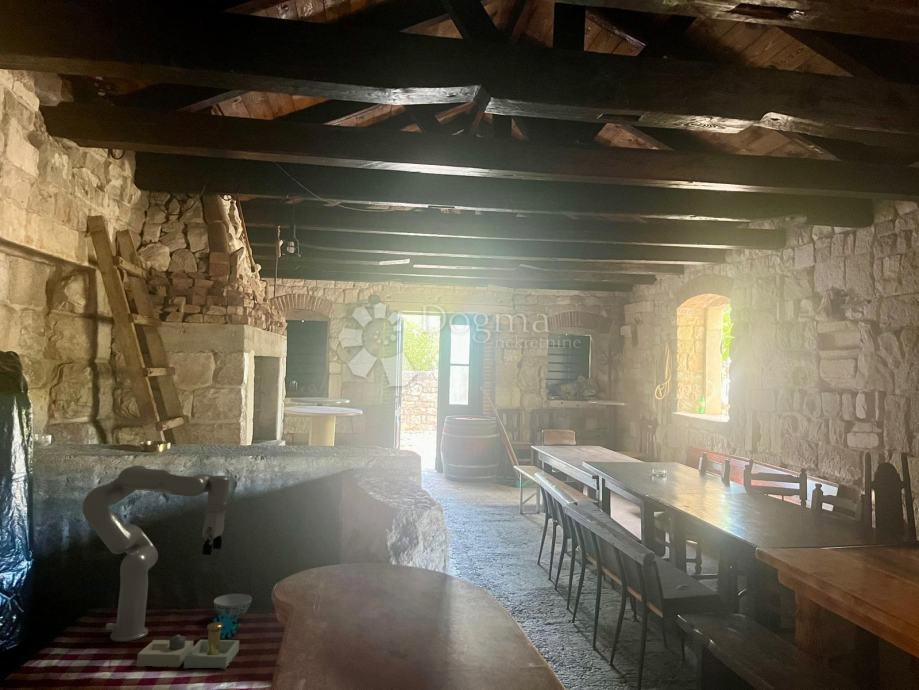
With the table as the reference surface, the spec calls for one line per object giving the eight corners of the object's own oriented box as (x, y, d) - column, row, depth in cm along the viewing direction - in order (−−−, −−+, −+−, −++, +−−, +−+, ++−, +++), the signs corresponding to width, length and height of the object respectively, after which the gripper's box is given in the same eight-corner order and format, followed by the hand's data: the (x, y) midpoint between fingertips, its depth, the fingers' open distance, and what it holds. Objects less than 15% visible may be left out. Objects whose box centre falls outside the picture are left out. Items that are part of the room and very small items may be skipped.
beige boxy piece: (136, 666, 196) (139, 641, 197) (152, 651, 208) (155, 628, 209) (178, 667, 197) (181, 642, 198) (192, 652, 209) (194, 629, 210)
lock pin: (202, 660, 201) (205, 627, 202) (207, 654, 206) (210, 622, 208) (217, 661, 201) (220, 627, 203) (222, 654, 206) (225, 622, 208)
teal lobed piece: (209, 637, 218) (213, 611, 226) (206, 644, 222) (210, 619, 229) (239, 638, 223) (242, 612, 230) (236, 645, 226) (239, 620, 233)
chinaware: (212, 614, 247) (213, 595, 248) (249, 610, 253) (250, 592, 253) (212, 626, 233) (214, 607, 234) (251, 623, 239) (253, 603, 240)
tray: (183, 668, 196) (184, 656, 197) (199, 651, 210) (200, 639, 210) (225, 669, 197) (226, 656, 197) (238, 651, 211) (239, 640, 211)
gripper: (215, 503, 239) (211, 545, 237) (198, 510, 222) (192, 556, 220) (234, 504, 239) (229, 547, 237) (217, 511, 222) (212, 557, 220)
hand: (211, 551), depth 229 cm, fingers open, 9 cm apart
